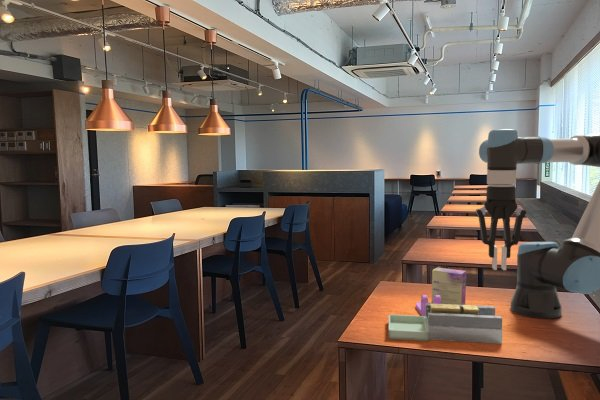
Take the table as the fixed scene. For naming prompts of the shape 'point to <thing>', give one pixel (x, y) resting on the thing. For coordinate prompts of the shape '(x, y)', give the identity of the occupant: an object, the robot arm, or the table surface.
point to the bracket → (422, 305)
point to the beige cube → (470, 310)
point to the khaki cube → (437, 308)
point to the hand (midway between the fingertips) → (499, 268)
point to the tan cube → (452, 309)
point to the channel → (465, 326)
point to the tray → (408, 327)
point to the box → (449, 285)
